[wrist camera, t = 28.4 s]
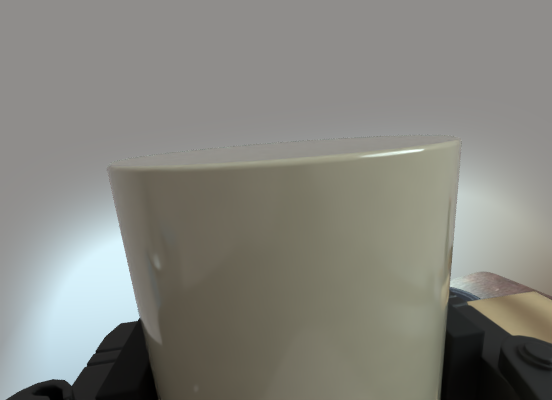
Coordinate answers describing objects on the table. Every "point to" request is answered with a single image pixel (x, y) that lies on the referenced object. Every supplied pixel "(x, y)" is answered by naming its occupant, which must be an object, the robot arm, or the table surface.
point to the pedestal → (519, 314)
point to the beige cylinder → (293, 266)
